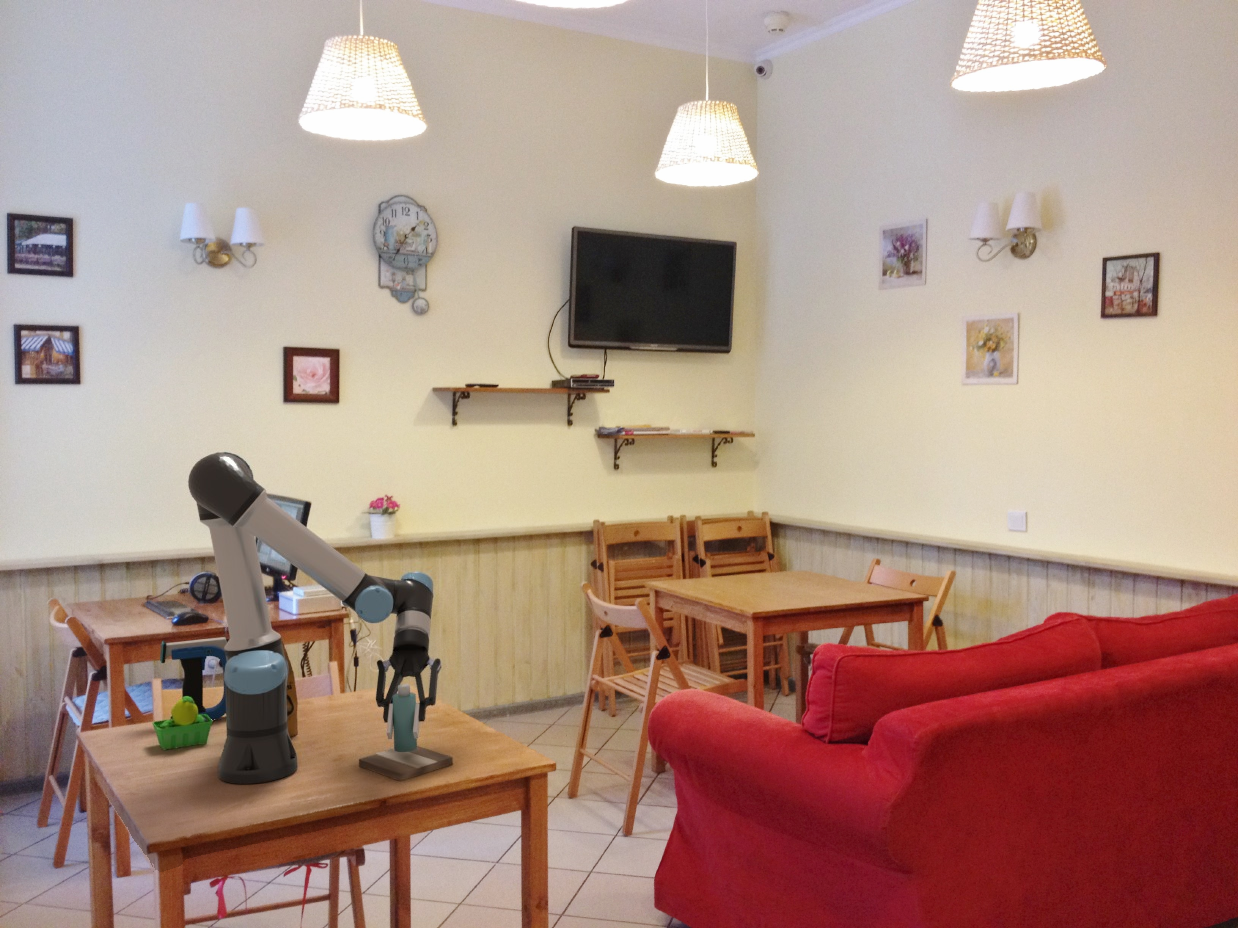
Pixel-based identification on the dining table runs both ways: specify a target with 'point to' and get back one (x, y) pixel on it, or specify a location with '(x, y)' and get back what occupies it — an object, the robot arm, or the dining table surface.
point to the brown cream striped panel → (405, 762)
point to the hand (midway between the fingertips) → (402, 735)
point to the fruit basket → (183, 726)
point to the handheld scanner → (197, 669)
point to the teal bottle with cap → (404, 719)
